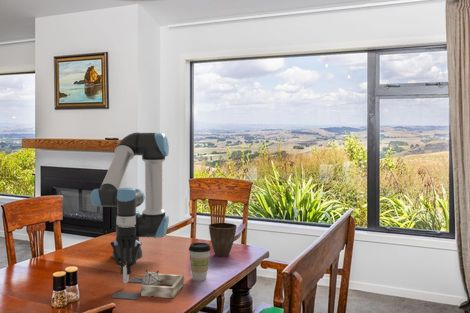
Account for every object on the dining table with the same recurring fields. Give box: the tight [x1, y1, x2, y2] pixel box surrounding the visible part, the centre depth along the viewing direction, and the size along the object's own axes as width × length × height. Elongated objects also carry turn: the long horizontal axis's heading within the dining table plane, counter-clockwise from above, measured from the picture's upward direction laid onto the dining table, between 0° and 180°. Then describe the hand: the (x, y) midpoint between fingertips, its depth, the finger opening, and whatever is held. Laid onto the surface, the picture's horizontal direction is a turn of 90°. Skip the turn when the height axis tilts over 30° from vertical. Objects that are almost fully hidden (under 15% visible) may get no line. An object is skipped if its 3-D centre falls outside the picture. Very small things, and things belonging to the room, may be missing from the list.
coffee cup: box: [188, 242, 212, 281], centre depth 187 cm, size 10×10×15 cm
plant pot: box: [208, 222, 238, 258], centre depth 225 cm, size 15×15×16 cm
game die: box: [139, 269, 162, 286], centre depth 170 cm, size 9×8×10 cm
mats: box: [110, 276, 143, 301], centre depth 173 cm, size 10×24×1 cm, turn 173°
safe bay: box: [140, 273, 185, 299], centre depth 171 cm, size 13×15×4 cm
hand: (125, 281), depth 174 cm, fingers closed
